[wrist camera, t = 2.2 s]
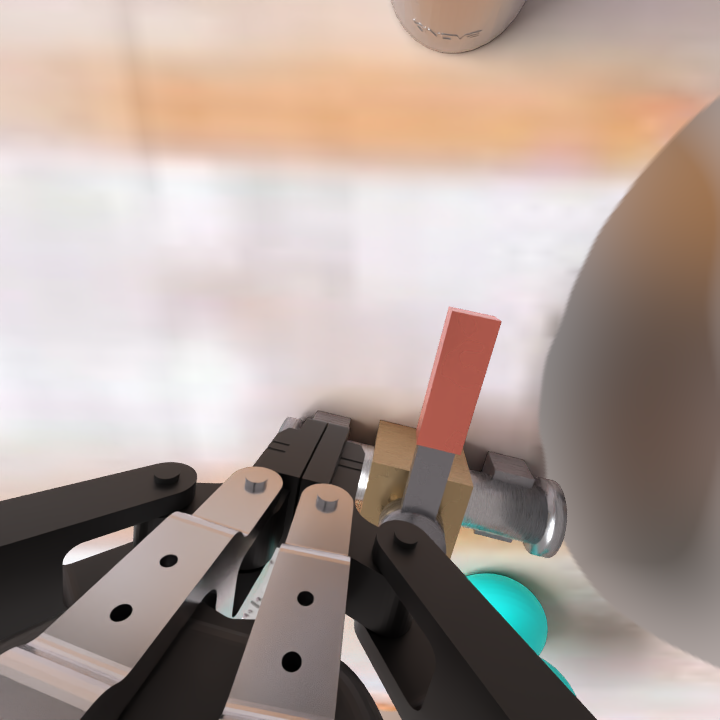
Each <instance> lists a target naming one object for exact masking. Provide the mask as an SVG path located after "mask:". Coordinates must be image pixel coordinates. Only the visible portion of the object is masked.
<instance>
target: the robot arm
mask: <svg viewBox="0 0 720 720" xmlns="http://www.w3.org/2000/svg"><path fill="white" fill-rule="evenodd" d="M525 1H526V0H391V2H392V5H393V8H394V10H395V13H396V16H397V18H398V19H399V21H400V22H401V24H402V26H403V27H404V29H405V30H406V31H407V32H408V33H409V34H410V35H411V36H412V37H413V38H414V39H415V40H416V41H417V42H419V43H421V44H422V45H424V46H426V47H427V48H430V49H433V50H436V51H440V52H446V53H460V52H465V51H470V50H473V49H476V48H478V47H480V46H482V45H485V44H487V43H488V42H490V41H491V40H492V39H494V38H495V37H497V36H498V35H499V34H501V33H502V32H503V31H504V30H505V29H506V28H507V27H508V26H509V24H510V23H511V22H512V21H513V20H514V19H515V17H516V16H517V14H518V13H519V11H520V10H521V8H522V7H523V5H524V3H525ZM349 430H350V428H349V427H345V426H341V425H337V424H333V423H329V424H328V422H324V421H320V420H316V419H311V418H307V419H306V421H305V422H304V424H303V425H302V427H301V428H300V430H297V429H293V428H287V429H285V430H283V431H281V432H279V433H278V434H277V435H276V437H275V438H274V439H273V441H272V442H271V443H270V444H269V446H268V448H266V450H265V451H264V452H263V454H262V455H261V456H260V458H259V459H258V460H257V462H256V463H255V464H254V466H253V467H246V468H243V469H240V470H238V471H236V472H234V473H233V474H232V475H231V476H230V477H229V478H228V479H227V480H226V481H225V482H224V483H196V481H197V474H196V472H195V470H194V469H193V468H192V467H190V466H188V465H185V464H182V463H175V462H166V463H159V464H155V465H151V466H146V467H142V468H138V469H134V470H130V471H125V472H121V473H117V474H113V475H109V476H104V477H100V478H96V479H92V480H88V481H83V482H79V483H75V484H71V485H67V486H62V487H58V488H54V489H50V490H46V491H41V492H37V493H33V494H29V495H25V496H20V497H16V498H12V499H8V500H4V501H0V720H383V718H382V716H381V714H380V712H379V710H378V708H377V706H376V704H375V702H374V700H373V698H372V697H371V695H370V693H369V692H368V690H367V689H366V687H365V685H364V684H363V683H362V682H361V680H360V679H359V678H358V676H357V675H356V674H355V673H354V672H353V671H352V670H351V669H350V668H349V667H348V666H347V665H346V664H345V663H344V662H342V661H341V660H340V659H341V649H342V639H343V629H344V619H345V614H346V615H348V616H350V617H351V618H353V619H354V628H355V632H356V635H357V637H358V639H359V641H360V643H361V645H362V647H363V648H364V650H365V652H366V654H367V656H368V658H369V660H370V661H371V663H372V665H373V667H374V669H375V671H376V673H377V674H378V676H379V678H380V680H381V682H382V684H383V685H384V687H385V689H386V691H387V693H388V695H389V697H390V698H391V700H392V702H393V704H394V706H395V708H396V710H397V711H398V713H399V715H400V717H401V719H402V720H597V719H596V718H595V717H594V716H593V715H592V714H591V713H590V712H589V710H588V709H587V708H586V707H585V706H584V705H583V704H582V703H581V702H580V701H579V700H578V698H577V697H576V696H575V695H574V694H573V693H572V692H571V691H570V690H569V689H568V688H567V686H566V685H565V684H564V683H563V682H562V681H561V680H560V679H559V678H558V677H557V675H556V674H555V673H554V672H553V671H552V670H551V669H550V668H549V667H548V666H547V665H546V663H545V662H544V661H543V660H542V659H541V658H540V657H539V656H538V655H537V654H536V653H535V651H534V650H533V649H532V648H531V647H530V646H529V645H528V644H527V643H526V642H525V641H524V639H523V638H522V637H521V636H520V635H519V634H518V633H517V632H516V631H515V630H514V629H513V627H512V626H511V625H510V624H509V623H508V622H507V621H506V620H505V619H504V618H503V617H502V615H501V614H500V613H499V612H498V611H497V610H496V609H495V608H494V607H493V606H492V605H491V603H490V602H489V601H488V600H487V599H486V598H485V597H484V596H483V595H482V594H481V592H480V591H479V590H478V589H477V588H476V587H475V586H474V585H473V584H472V583H471V582H470V580H469V579H468V578H467V577H466V576H465V575H464V574H463V573H462V572H461V571H460V570H459V568H458V567H457V566H456V565H455V564H454V563H453V562H452V561H451V560H450V559H449V558H448V556H447V555H446V554H445V553H444V552H443V551H442V550H441V549H440V548H439V547H438V546H437V544H436V543H435V542H434V541H433V540H432V539H431V538H430V537H429V536H428V535H427V534H426V533H425V532H424V531H423V530H422V529H421V528H419V527H418V526H416V525H414V524H412V523H409V522H406V521H402V520H391V521H387V522H384V523H383V524H381V525H380V526H379V527H377V526H376V525H374V524H372V523H370V522H368V521H367V520H366V519H364V518H363V517H362V516H361V515H360V513H359V512H358V511H357V509H356V506H355V498H356V493H357V489H358V485H359V480H360V476H361V471H362V467H363V462H364V458H365V452H364V450H363V448H362V446H361V445H359V444H355V443H351V442H347V440H348V436H349ZM131 526H134V534H133V542H130V543H128V544H125V545H122V546H119V547H116V548H114V549H111V550H108V551H105V552H102V553H100V554H97V555H94V556H91V557H89V558H86V559H83V560H80V561H77V562H75V563H72V564H68V565H62V563H63V559H64V557H65V555H66V554H67V553H68V552H69V551H70V550H71V549H72V548H73V547H75V546H77V545H78V544H80V543H83V542H86V541H89V540H92V539H95V538H98V537H101V536H104V535H107V534H110V533H113V532H116V531H119V530H122V529H125V528H128V527H131ZM276 548H280V549H279V552H278V555H277V558H276V561H275V564H274V567H273V569H272V572H271V575H270V578H269V581H268V584H267V587H266V590H265V593H264V596H263V599H262V602H261V604H260V607H259V610H258V613H257V616H256V619H242V617H243V615H244V613H245V611H246V610H247V608H248V606H249V604H250V602H251V601H252V599H253V597H254V595H255V594H256V592H257V590H258V588H259V586H260V585H261V583H262V581H263V579H264V578H265V576H266V574H267V572H268V570H269V565H270V560H271V558H272V556H273V554H274V552H275V550H276Z"/></svg>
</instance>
